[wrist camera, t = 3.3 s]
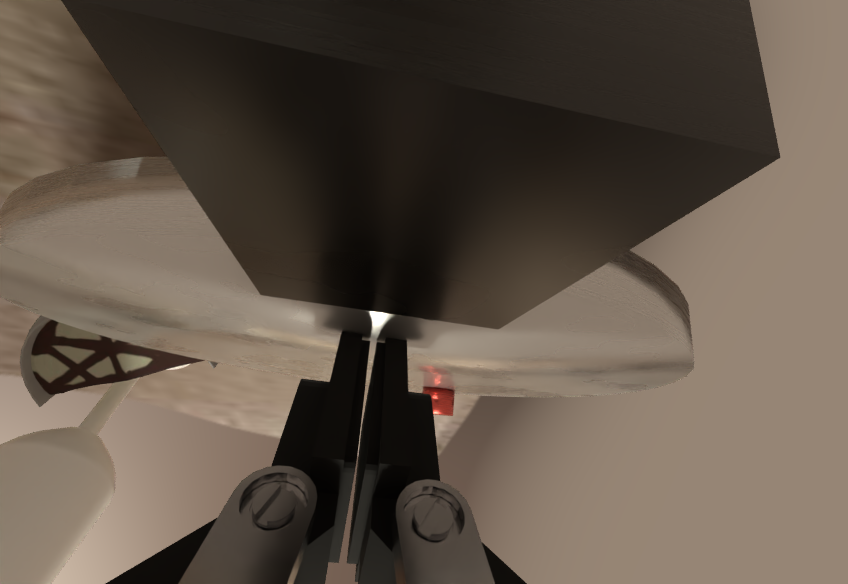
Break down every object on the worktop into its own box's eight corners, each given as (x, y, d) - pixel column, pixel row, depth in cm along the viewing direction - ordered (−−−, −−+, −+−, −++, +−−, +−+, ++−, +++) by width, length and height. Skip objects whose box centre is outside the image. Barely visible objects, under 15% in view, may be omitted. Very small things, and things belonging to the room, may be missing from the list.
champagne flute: (96, 312, 33) (-379, 761, 13) (179, 301, 33) (-165, 734, 13) (137, 374, 37) (-181, 802, 16) (213, 364, 36) (-14, 781, 16)
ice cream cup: (236, 217, 31) (170, 275, 22) (269, 289, 34) (222, 366, 25) (81, 255, 31) (-44, 325, 23) (126, 322, 34) (31, 408, 25)
